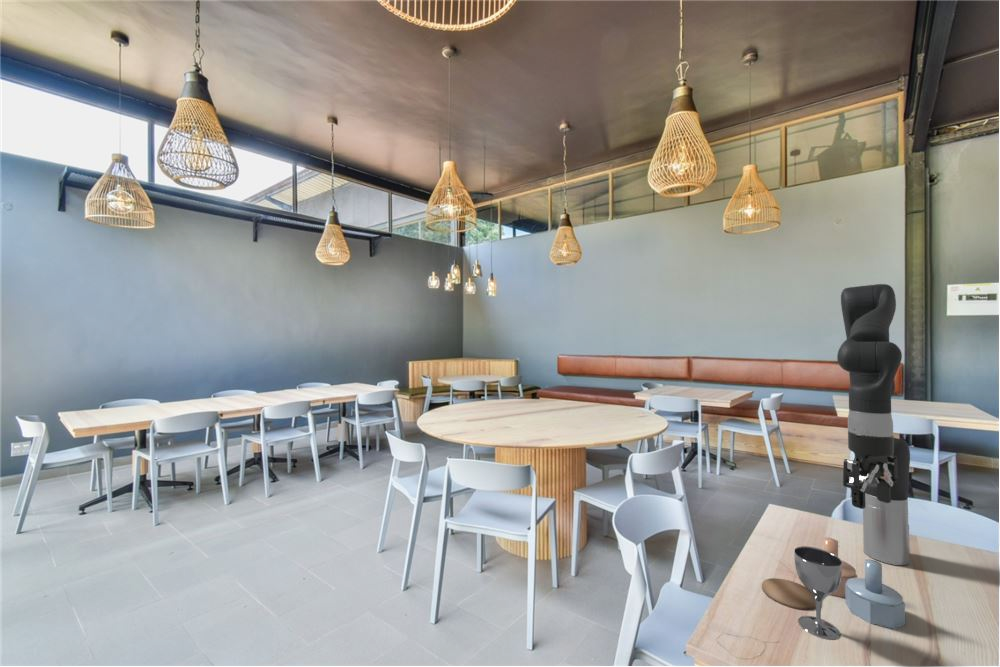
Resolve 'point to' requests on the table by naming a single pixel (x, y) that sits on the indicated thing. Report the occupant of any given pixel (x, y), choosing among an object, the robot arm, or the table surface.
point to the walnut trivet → (788, 593)
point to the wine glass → (818, 586)
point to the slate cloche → (875, 598)
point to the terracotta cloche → (847, 569)
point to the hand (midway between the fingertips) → (871, 504)
